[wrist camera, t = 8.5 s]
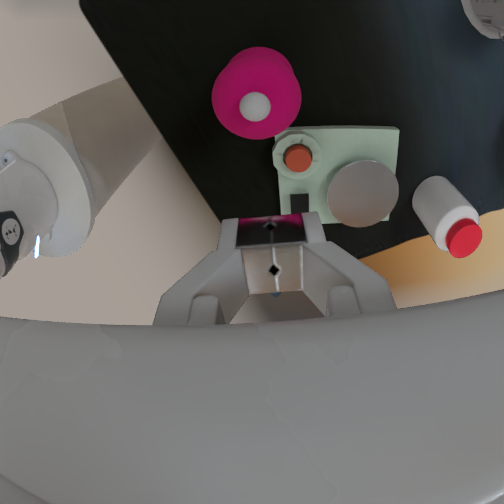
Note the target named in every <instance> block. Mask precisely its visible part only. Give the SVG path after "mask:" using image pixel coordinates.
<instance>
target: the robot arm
mask: <svg viewBox="0 0 504 504" xmlns="http://www.w3.org/2000/svg"><path fill="white" fill-rule="evenodd" d="M57 216H58V203H57V198H56V195H55V192H54V189H53V187H52V185H51V183H50V182H49V180H48V179H47V177H46V176H45V175H44V173H43V172H42V171H41V170H40V169H39V168H37V167H36V166H35V165H33V164H32V163H30V162H28V161H25V160H23V159H21V158H20V157H19V156H18V155H17V154H16V153H15V152H14V151H13V150H11V149H10V150H8V151H7V152H6V153H5V154H4V155H3V156H2V157H1V158H0V279H1V278H2V277H4V276H6V275H7V273H8V272H9V271H10V270H11V269H12V268H13V266H14V264H15V263H16V261H17V260H24V259H26V258H27V257H28V256H29V255H30V253H31V252H32V251H33V250H34V249H35V258H37V256H38V251H39V243H40V242H48V241H49V240H50V239H51V238H52V227H53V225H54V223H55V222H56V219H57ZM300 290H303V292H304V293H305V294H306V295H307V296H308V297H309V298H310V300H311V301H312V302H313V303H314V304H315V305H316V306H317V307H318V309H319V310H320V311H321V312H322V313H323V314H324V315H325V317H324V318H315V319H303V320H290V321H276V322H261V323H243V324H229V323H230V322H231V320H232V319H233V318H234V316H235V315H236V313H237V312H238V311H239V309H240V308H241V306H242V305H243V304H244V302H245V301H246V299H247V298H248V297H249V294H257V293H268V292H282V291H300ZM0 504H504V289H503V290H498V291H494V292H489V293H484V294H480V295H475V296H470V297H465V298H459V299H454V300H449V301H444V302H438V303H432V304H426V305H420V306H414V307H407V308H400V309H397V307H396V304H395V301H394V299H393V296H392V293H391V291H390V288H389V286H388V283H387V281H386V279H384V278H383V277H381V276H380V275H379V274H377V273H376V272H375V271H373V270H372V269H370V268H369V267H367V266H366V265H365V264H363V263H362V262H360V261H359V260H358V259H356V258H355V257H353V256H352V255H350V254H349V253H347V252H346V251H345V250H343V249H342V248H340V247H339V246H337V245H336V244H334V243H333V242H331V241H329V242H327V241H326V238H325V234H324V231H323V227H322V224H321V220H320V217H319V214H318V212H317V211H314V212H305V213H296V214H287V215H277V216H260V217H245V218H232V219H224V220H223V221H222V224H221V229H220V234H219V240H218V245H217V250H216V251H211V252H210V253H209V254H208V255H207V256H206V257H205V258H203V259H202V260H201V261H200V262H199V263H198V264H197V265H196V266H194V267H193V268H192V269H191V270H190V271H189V272H188V273H186V274H185V275H184V276H183V277H182V278H181V279H180V280H178V281H177V282H176V283H175V284H174V285H173V286H172V287H171V288H170V289H169V290H167V291H166V292H165V293H164V294H163V295H162V296H161V299H160V302H159V305H158V308H157V311H156V315H155V318H154V322H153V325H152V326H149V325H148V326H146V325H102V324H82V323H65V322H64V323H63V322H50V321H38V320H27V319H17V318H7V317H0Z"/></svg>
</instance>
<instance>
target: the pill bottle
mask: <svg viewBox="0 0 504 504" xmlns="http://www.w3.org/2000/svg"><path fill="white" fill-rule="evenodd" d="M412 206H413V209H414V211H415V213H416V214H417V216H418V217H419V219H420V220H421V222H422V223H423V225H424V226H425V228H426V230H427V231H428V233H429V234H430V236H431V237H432V239H433V241H434V242H435V244H436V245H437V247H438V248H439V249H441V250H442V251H445V252H450V253H451V255H452V256H453V257H455V258H463V257H466V256H468V255H470V254H471V253H472V252H474V251H475V250H476V248H477V247H478V245H479V244H480V242H481V239H482V230H481V228H480V227H479V216H478V213H477V211H476V210H475V209H474V207H473V206H472V205H471V204H470V203H469V202H468V201H467V199H466V198H465V197H464V196H463V195H462V194H461V193H460V192H459V191H458V190H457V189H456V188H455V187H454V186H453V184H452V183H451V182H450V181H449V180H447V179H446V178H444V177H442V176H432V177H429V178H427V179H425V180H424V181H423V182H422V183H421V184H420V185H419V186H418V187H417V188H416V190H415V192H414V195H413V199H412Z"/></svg>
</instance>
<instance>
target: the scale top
mask: <svg viewBox="0 0 504 504" xmlns="http://www.w3.org/2000/svg"><path fill="white" fill-rule="evenodd" d="M398 194H399V186H398V181H397V179H396V177H395V175H394V173H393V172H392V171H391V170H390V169H389V168H388V167H387V166H386V165H385V164H383V163H381V162H378V161H375V160H369V159H364V160H357V161H354V162H351V163H349V164H347V165H345V166H344V167H342V168H341V169H340V170H338V172H337V173H336V174H335V175H334V176H333V178H332V179H331V181H330V183H329V186H328V189H327V204H328V207H329V210H330V211H331V213H332V215H333V216H334V217H335V218H336V219H337V220H338V221H340V222H341V223H343V224H345V225H348V226H352V227H366V226H370V225H373V224H375V223H378V222H379V221H381V220H383V219H384V218H385V217H386V216H387V215H388V214H389V213H390V212H391V211H392V209H393V208H394V206H395V204H396V202H397V199H398ZM290 204H291V214H296V213H305V212H309V193H304V194H290Z"/></svg>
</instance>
